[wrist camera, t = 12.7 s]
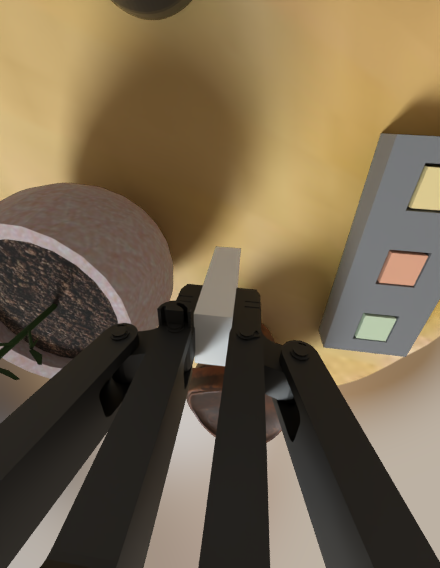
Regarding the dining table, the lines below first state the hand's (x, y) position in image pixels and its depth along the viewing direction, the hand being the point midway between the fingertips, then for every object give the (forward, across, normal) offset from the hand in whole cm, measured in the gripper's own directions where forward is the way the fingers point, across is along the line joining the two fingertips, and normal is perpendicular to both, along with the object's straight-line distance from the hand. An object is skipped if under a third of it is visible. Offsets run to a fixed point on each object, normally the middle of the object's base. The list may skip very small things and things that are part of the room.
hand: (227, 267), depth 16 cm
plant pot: (+27, -20, -11) cm, 35 cm away
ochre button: (+25, +24, +2) cm, 35 cm away
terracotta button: (+25, +24, -9) cm, 36 cm away
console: (+26, +24, -9) cm, 37 cm away
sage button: (+25, +24, -20) cm, 40 cm away
